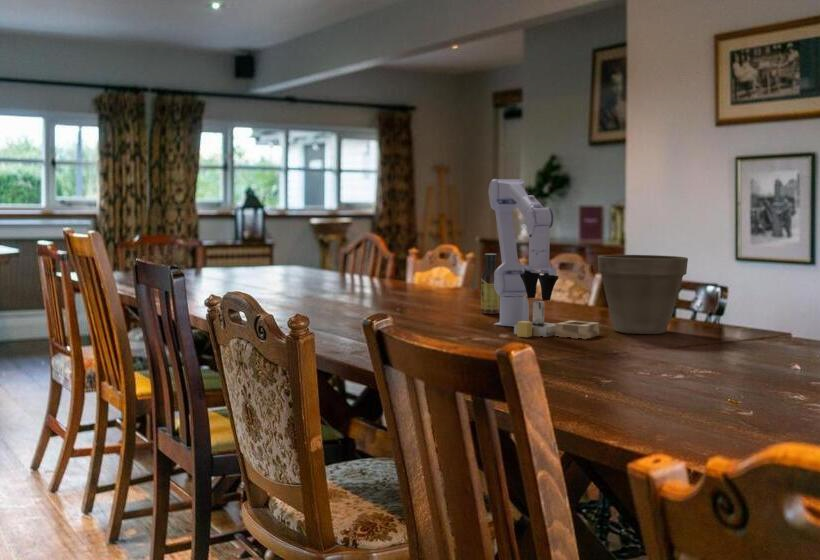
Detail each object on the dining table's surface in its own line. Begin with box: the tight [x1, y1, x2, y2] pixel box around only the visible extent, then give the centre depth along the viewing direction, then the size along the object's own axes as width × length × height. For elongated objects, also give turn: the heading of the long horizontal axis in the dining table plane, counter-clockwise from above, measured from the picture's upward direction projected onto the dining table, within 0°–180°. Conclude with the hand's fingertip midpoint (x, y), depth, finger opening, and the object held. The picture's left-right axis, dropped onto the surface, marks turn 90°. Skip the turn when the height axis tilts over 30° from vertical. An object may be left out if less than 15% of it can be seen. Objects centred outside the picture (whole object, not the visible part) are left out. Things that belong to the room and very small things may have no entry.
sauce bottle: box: [480, 253, 500, 315], centre depth 314 cm, size 6×6×20 cm
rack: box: [554, 320, 600, 340], centre depth 263 cm, size 9×9×4 cm
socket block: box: [513, 321, 556, 338], centre depth 267 cm, size 10×10×2 cm
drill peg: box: [532, 300, 545, 326], centre depth 267 cm, size 3×3×9 cm
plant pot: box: [597, 254, 689, 335], centre depth 271 cm, size 25×25×22 cm
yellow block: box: [516, 320, 533, 338], centre depth 262 cm, size 3×3×4 cm
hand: (538, 299), depth 267 cm, fingers open, 7 cm apart
